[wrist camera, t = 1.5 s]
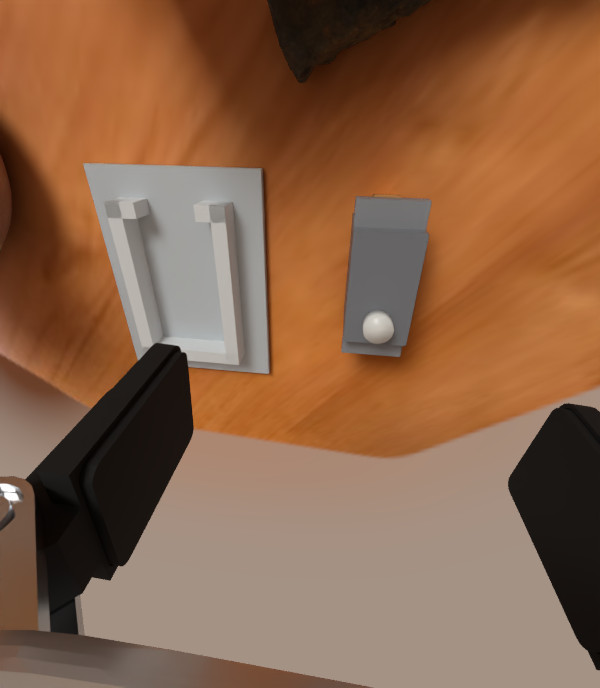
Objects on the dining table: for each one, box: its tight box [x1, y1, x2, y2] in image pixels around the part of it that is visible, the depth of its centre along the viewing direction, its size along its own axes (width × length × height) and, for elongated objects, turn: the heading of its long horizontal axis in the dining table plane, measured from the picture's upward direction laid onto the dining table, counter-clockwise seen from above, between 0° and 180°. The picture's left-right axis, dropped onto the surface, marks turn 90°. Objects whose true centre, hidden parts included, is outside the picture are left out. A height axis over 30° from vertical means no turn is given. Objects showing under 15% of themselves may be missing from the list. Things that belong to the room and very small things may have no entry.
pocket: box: [83, 163, 270, 374], centre depth 26 cm, size 12×16×2 cm
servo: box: [342, 194, 432, 357], centre depth 22 cm, size 4×10×6 cm, turn 179°
